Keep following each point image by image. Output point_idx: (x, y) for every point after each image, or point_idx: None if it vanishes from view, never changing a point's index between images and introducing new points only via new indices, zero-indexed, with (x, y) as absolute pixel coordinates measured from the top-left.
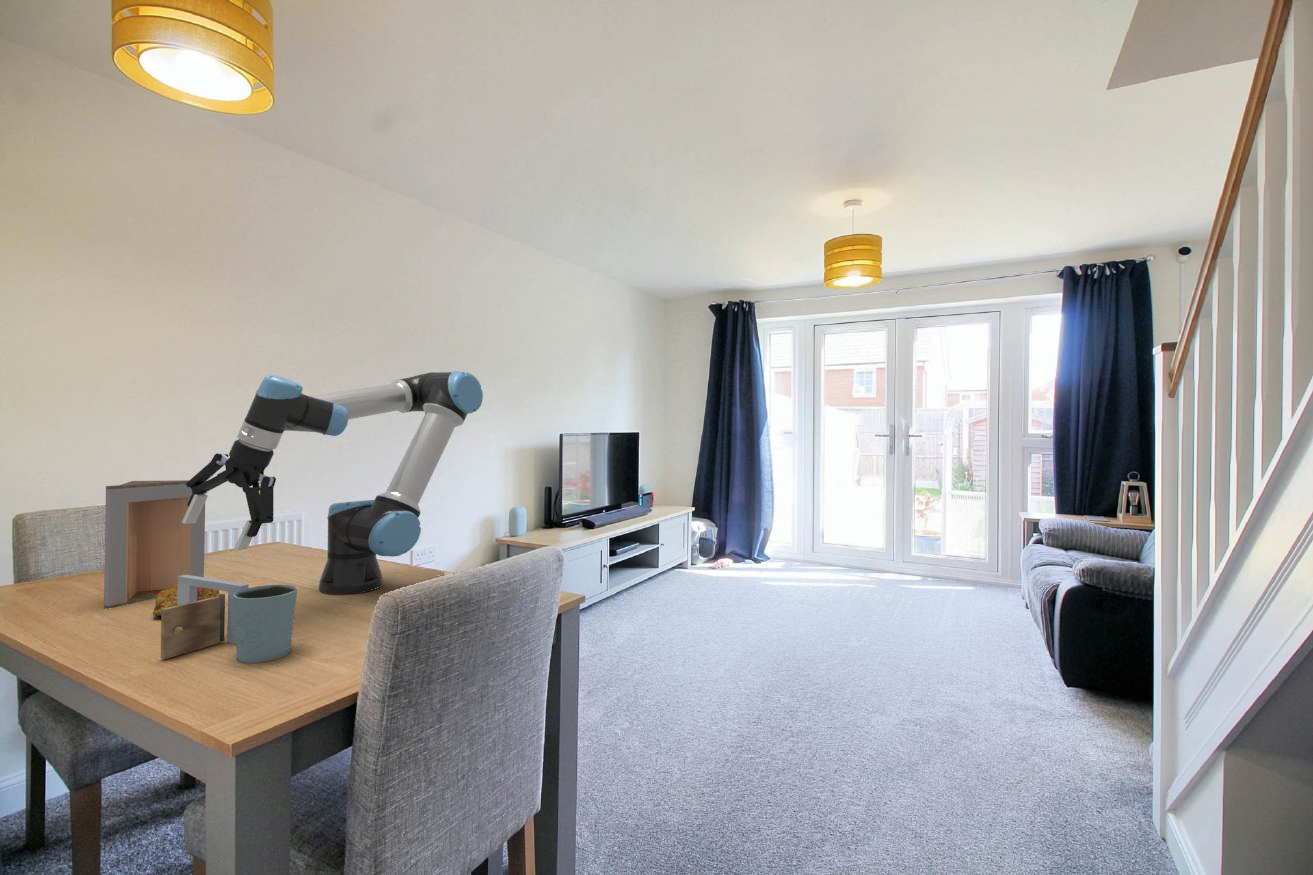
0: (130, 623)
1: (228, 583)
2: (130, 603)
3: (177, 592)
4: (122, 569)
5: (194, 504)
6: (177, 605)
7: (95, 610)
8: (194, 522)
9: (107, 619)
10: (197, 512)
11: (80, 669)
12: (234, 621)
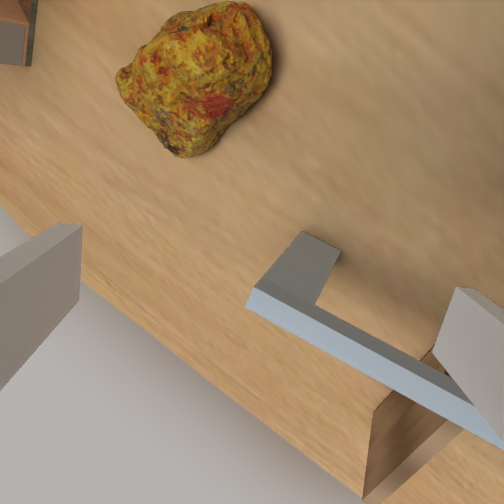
0: (156, 179)
1: (482, 432)
2: (35, 14)
3: (177, 116)
4: None
5: (9, 374)
6: (383, 480)
7: (19, 81)
8: (80, 237)
9: (92, 149)
10: (46, 275)
11: (266, 422)
12: None
